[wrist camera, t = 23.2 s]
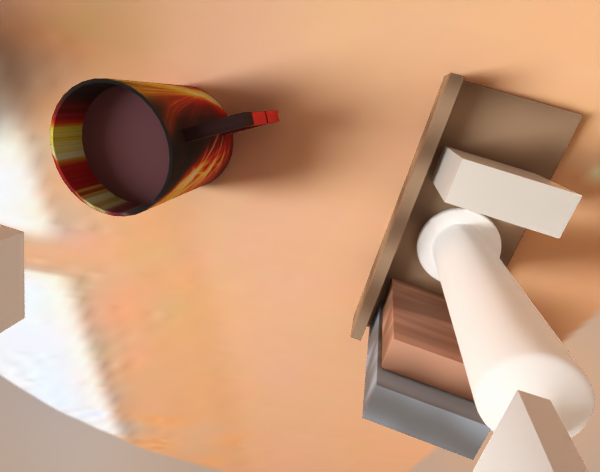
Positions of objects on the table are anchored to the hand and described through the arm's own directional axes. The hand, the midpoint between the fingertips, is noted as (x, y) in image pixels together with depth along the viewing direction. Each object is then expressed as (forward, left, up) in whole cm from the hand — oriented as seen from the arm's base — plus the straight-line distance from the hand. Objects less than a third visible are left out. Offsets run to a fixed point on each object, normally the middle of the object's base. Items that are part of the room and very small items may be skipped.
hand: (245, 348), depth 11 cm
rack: (+2, +11, -30) cm, 32 cm away
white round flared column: (+3, +11, -29) cm, 31 cm away
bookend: (-3, +11, -28) cm, 31 cm away
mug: (0, -15, -30) cm, 33 cm away
